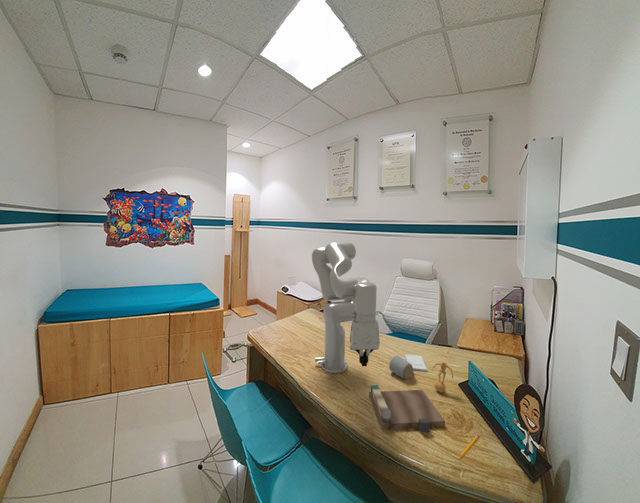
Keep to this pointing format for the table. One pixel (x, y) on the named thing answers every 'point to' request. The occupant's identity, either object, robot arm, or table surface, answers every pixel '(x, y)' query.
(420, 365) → the external hard drive
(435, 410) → the brown wooden board
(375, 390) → the stool leg
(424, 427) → the leg stop
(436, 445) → the table surface
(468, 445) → the pencil
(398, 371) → the grey cylinder
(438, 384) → the figurine
